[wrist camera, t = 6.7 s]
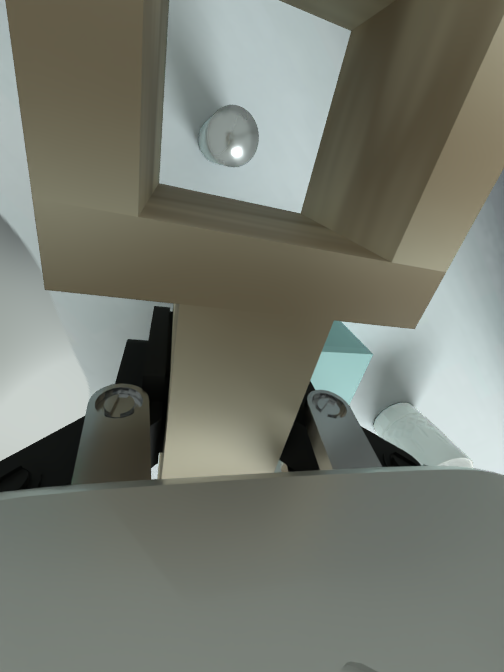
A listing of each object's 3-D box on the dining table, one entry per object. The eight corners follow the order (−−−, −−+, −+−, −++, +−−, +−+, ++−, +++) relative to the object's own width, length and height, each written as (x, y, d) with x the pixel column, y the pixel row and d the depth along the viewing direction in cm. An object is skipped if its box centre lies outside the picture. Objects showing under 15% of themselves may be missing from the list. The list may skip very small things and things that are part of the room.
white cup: (368, 442, 47) (411, 505, 38) (369, 408, 42) (417, 471, 34) (414, 427, 47) (466, 485, 39) (420, 392, 43) (479, 449, 34)
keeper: (218, 310, 29) (228, 346, 23) (340, 320, 33) (373, 354, 27) (208, 368, 32) (215, 412, 27) (320, 372, 36) (346, 410, 30)
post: (200, 113, 21) (211, 97, 15) (239, 123, 22) (263, 113, 16) (196, 158, 22) (204, 160, 16) (232, 167, 23) (252, 172, 17)
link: (101, -185, 5) (-187, -1412, 1) (416, -22, 7) (734, -250, 3) (115, 489, 15) (89, 620, 11) (248, 481, 17) (270, 589, 13)
